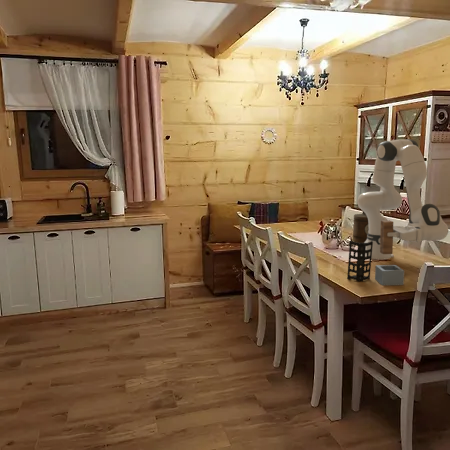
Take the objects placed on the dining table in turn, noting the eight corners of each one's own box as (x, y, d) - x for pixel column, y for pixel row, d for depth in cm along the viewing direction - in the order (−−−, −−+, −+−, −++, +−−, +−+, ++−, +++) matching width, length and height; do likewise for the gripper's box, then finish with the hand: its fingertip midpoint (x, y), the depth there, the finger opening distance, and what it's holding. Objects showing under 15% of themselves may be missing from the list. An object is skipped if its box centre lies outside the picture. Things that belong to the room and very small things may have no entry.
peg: (379, 252, 211) (380, 220, 208) (388, 251, 210) (389, 220, 208) (383, 254, 206) (384, 222, 204) (392, 253, 206) (393, 221, 204)
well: (374, 279, 208) (375, 265, 207) (395, 278, 208) (395, 264, 207) (382, 285, 198) (382, 271, 197) (403, 284, 198) (404, 270, 197)
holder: (367, 276, 212) (369, 238, 207) (373, 282, 205) (375, 243, 199) (345, 277, 212) (347, 239, 206) (350, 283, 205) (352, 244, 199)
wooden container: (370, 244, 284) (372, 211, 280) (349, 241, 293) (350, 210, 289) (377, 240, 296) (379, 209, 292) (357, 237, 305) (358, 207, 301)
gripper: (404, 222, 216) (377, 223, 216) (422, 229, 196) (393, 230, 196) (404, 234, 217) (377, 235, 217) (422, 242, 197) (392, 243, 197)
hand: (384, 233), depth 207 cm, fingers closed on peg, 4 cm apart
